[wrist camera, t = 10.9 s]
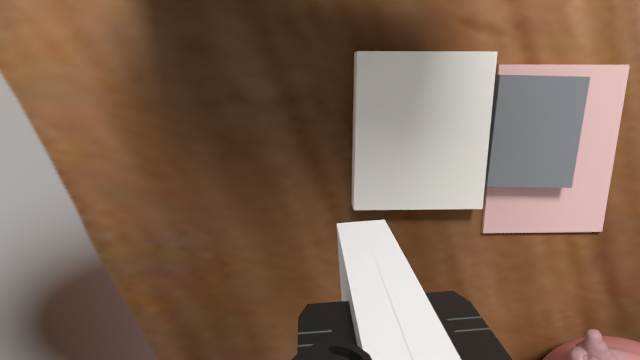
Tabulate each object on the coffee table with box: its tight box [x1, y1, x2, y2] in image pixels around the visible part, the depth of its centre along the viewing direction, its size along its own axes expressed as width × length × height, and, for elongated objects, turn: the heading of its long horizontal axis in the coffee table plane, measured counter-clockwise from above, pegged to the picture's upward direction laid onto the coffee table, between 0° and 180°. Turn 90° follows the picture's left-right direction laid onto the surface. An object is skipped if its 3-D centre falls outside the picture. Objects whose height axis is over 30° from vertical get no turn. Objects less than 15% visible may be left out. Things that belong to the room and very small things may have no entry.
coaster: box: [485, 75, 590, 188], centre depth 38 cm, size 10×8×2 cm
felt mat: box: [481, 65, 630, 233], centre depth 39 cm, size 16×12×1 cm
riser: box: [351, 51, 497, 210], centre depth 38 cm, size 14×12×2 cm
